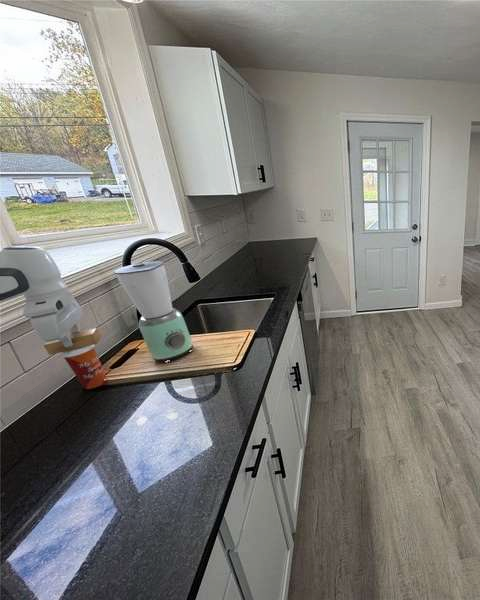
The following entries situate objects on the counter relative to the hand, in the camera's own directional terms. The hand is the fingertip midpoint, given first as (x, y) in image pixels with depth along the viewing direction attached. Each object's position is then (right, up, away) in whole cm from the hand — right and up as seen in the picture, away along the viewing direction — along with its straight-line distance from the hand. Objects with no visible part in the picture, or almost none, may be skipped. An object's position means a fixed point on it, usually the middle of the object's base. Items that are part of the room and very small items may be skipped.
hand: (73, 341), depth 97 cm
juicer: (+16, -8, +21) cm, 27 cm away
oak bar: (0, -1, +1) cm, 2 cm away
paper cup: (+1, -15, +6) cm, 16 cm away
